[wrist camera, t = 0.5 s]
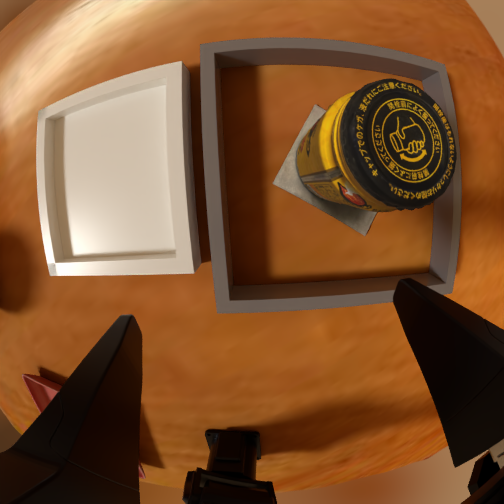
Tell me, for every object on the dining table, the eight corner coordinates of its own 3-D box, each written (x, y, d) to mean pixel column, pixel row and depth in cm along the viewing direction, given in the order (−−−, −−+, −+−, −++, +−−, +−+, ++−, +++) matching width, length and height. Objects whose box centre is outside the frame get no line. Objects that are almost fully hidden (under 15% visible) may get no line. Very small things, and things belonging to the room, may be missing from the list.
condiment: (314, 105, 18) (366, 29, 7) (401, 160, 19) (505, 152, 7) (272, 183, 20) (284, 182, 9) (363, 235, 21) (451, 288, 9)
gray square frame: (435, 281, 21) (452, 293, 18) (222, 297, 22) (217, 313, 20) (428, 73, 17) (444, 64, 14) (207, 60, 18) (200, 44, 15)
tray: (201, 263, 22) (194, 273, 19) (64, 267, 23) (50, 275, 20) (190, 72, 18) (181, 60, 16) (53, 114, 19) (38, 111, 16)
